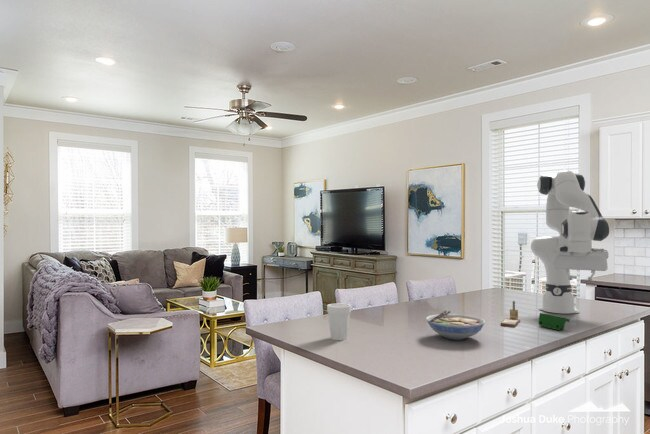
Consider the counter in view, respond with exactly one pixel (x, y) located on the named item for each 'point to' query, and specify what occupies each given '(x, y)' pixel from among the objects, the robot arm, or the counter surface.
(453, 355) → the counter surface
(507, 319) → the bandage strip
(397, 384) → the counter surface
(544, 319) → the clamp
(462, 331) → the ramen bowl
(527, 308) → the counter surface
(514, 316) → the awl
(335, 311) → the foam cup
